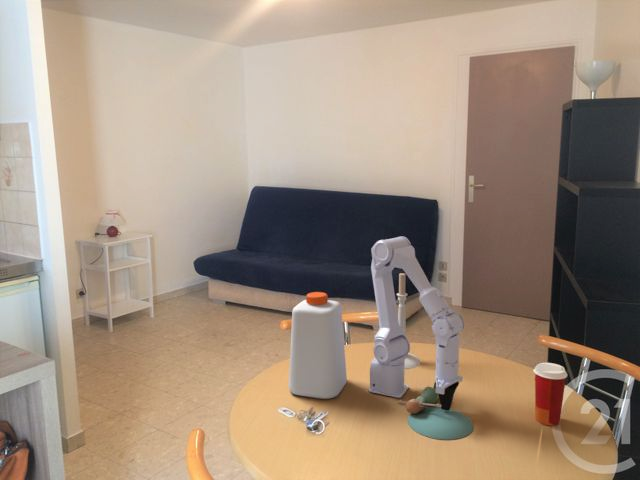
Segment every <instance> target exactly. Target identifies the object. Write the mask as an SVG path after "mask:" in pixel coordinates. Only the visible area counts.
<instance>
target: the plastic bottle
mask: <svg viewBox="0 0 640 480" xmlns="http://www.w3.org/2000/svg"><path fill="white" fill-rule="evenodd" d="M328 296H329V295H328V294H327V293H326V292H321V291H314V292H312V291H311V292H309V293H307V294H306V297H305V298H306V299H304V300H302V301H301V302H299V303H298V304H297V305H296V306H294V307H293V308H292V311H291V314H292V315H291V332H290V349H289V350H290V353H289V372H288V390H289V391H290V393H291V394H293V395H296V396H299V397H300V396H301V397H308V398H314V399H321V400H330V399H333V398H336V397H338V395H339V394H340V392H342V390H343V388H344V386H345V385H346V384H347V381H348V378H347V377H348V375H347V367H346V366H347V363H346V353H345V352H346V350H345V339H344V337H345V335H344V326H343V325H344V324H343V312H342V311H343V310H342V304H341V303H340V302H339V301H336V300H331V299H329V297H328ZM328 299H329V300H328Z"/></svg>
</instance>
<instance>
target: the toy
mask: <svg viewBox="0 0 640 480" xmlns="http://www.w3.org/2000/svg"><path fill="white" fill-rule="evenodd" d="M438 399H439V396H438V394H437V393H436V390H435V388H434V385H433V387H432V386H427V387H426V386H425V388H423V389H422V390H421V394H420V396H417V397H416V398H412V399H409V400H408V401H405V400H404V401H403V400H401V399H400V400H399V401H398V402H397V403H398V404H399V405H400V404H405V409H406V411H407V412H408V413H410V414H411V413H412V414H416V413H418V412H420V411H421V410H423V409H424V408H426V407H442V406H441V405H440V403H437V404H435V402H436V401H437V400H438Z"/></svg>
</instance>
